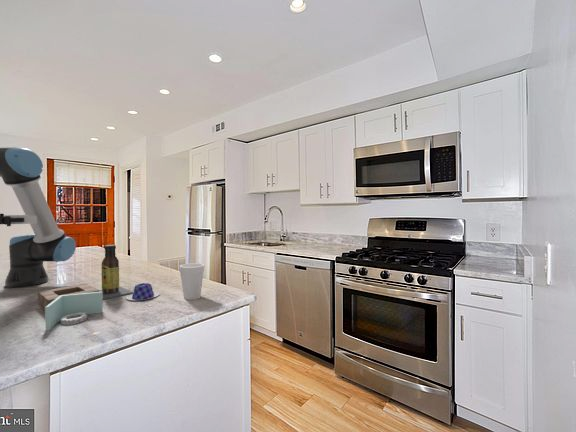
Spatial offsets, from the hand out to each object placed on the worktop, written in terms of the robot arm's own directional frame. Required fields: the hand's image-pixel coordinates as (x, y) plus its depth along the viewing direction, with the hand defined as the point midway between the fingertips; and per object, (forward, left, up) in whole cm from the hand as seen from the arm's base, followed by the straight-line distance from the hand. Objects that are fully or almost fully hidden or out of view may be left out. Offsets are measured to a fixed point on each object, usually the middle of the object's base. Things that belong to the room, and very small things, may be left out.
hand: (32, 219), depth 103 cm
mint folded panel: (+27, +6, -33) cm, 43 cm away
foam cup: (+35, +43, -32) cm, 64 cm away
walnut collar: (+7, +9, -32) cm, 34 cm away
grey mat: (+4, +24, -32) cm, 40 cm away
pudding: (+19, +30, -32) cm, 48 cm away
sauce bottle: (+4, +24, -32) cm, 40 cm away
